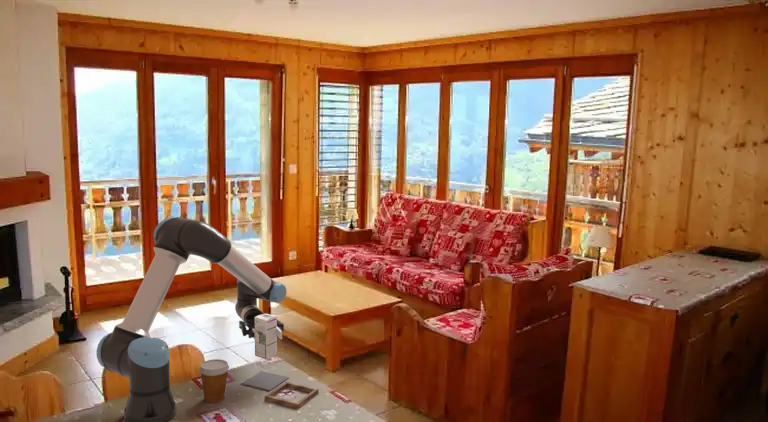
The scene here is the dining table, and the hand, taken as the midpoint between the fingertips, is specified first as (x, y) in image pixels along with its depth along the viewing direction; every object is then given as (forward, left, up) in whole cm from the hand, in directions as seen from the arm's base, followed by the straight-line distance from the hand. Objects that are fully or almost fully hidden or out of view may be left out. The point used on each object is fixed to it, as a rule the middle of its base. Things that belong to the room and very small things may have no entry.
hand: (269, 336), depth 204 cm
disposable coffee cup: (-11, -16, -18) cm, 27 cm away
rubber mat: (-4, +3, -18) cm, 19 cm away
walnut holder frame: (+11, -3, -18) cm, 22 cm away
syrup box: (-4, +3, -9) cm, 10 cm away
